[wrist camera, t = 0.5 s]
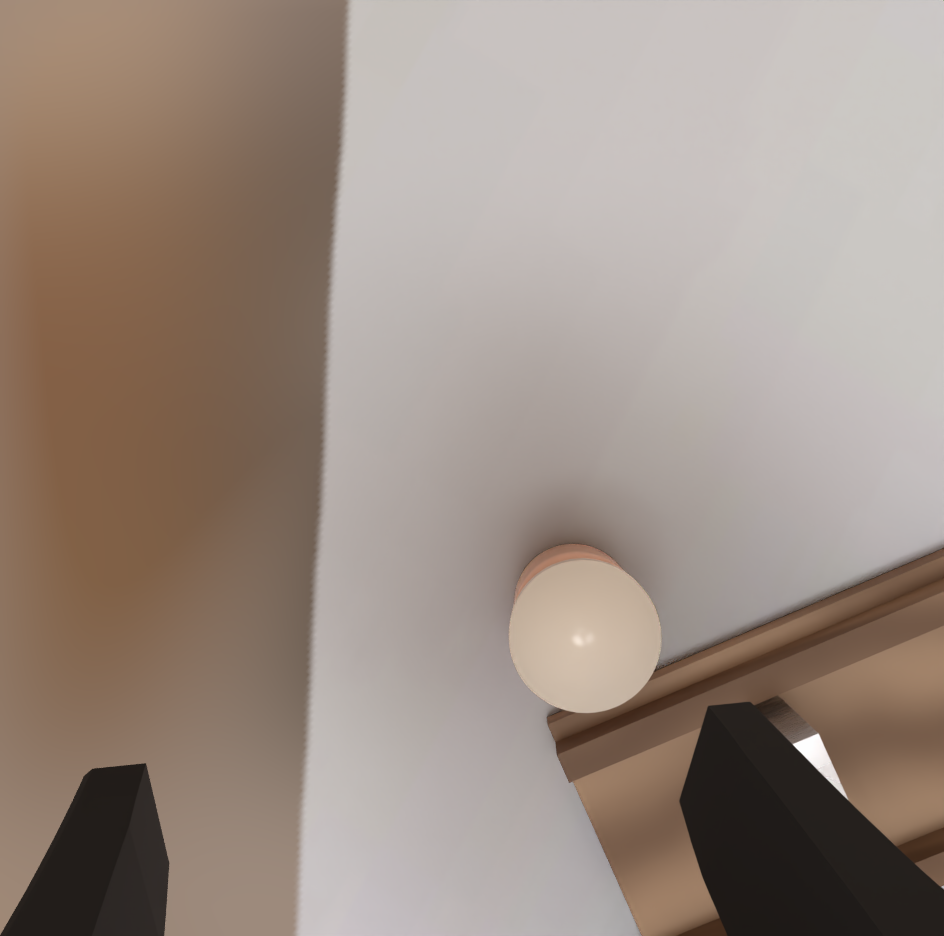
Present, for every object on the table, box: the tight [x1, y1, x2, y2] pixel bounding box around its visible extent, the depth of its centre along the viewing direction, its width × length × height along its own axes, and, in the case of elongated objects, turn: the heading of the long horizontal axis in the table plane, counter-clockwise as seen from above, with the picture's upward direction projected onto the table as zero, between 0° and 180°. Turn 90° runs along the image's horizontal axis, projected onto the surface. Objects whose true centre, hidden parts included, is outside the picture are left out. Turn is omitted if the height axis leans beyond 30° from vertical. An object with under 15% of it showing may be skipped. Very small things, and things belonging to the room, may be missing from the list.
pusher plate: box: [754, 695, 848, 799], centre depth 32 cm, size 7×2×5 cm, turn 25°
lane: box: [547, 548, 944, 936], centre depth 33 cm, size 12×21×6 cm, turn 115°
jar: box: [509, 544, 662, 713], centre depth 33 cm, size 5×5×7 cm
